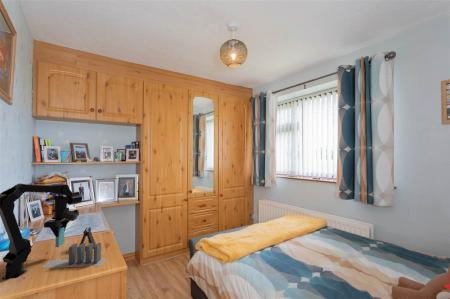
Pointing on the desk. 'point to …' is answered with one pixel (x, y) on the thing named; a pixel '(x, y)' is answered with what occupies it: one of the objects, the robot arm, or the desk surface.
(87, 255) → the domino
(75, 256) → the domino
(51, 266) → the mat
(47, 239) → the desk surface
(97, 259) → the domino
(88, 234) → the phone stand
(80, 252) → the domino
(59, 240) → the domino
